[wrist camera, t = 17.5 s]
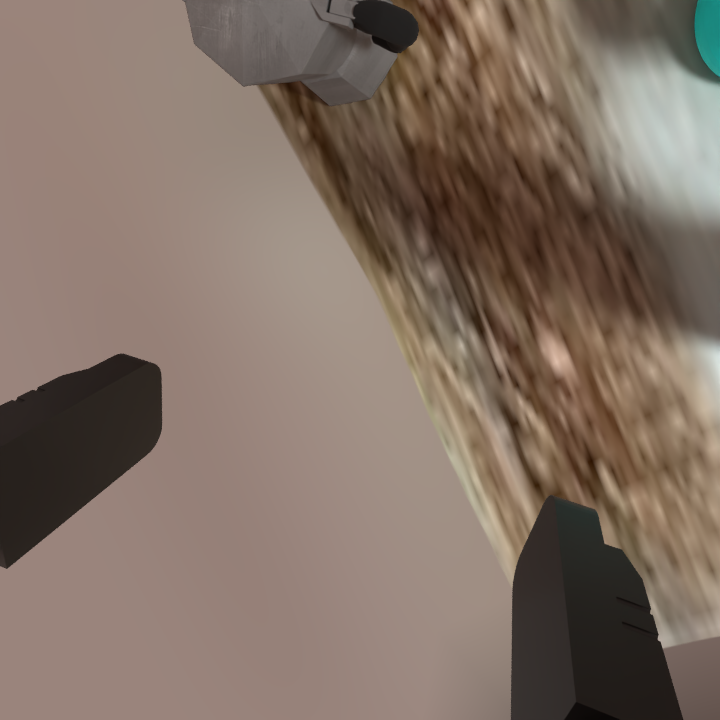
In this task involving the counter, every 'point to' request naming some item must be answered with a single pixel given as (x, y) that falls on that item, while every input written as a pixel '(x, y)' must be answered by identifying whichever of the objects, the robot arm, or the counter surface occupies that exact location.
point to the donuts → (708, 32)
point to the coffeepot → (304, 42)
